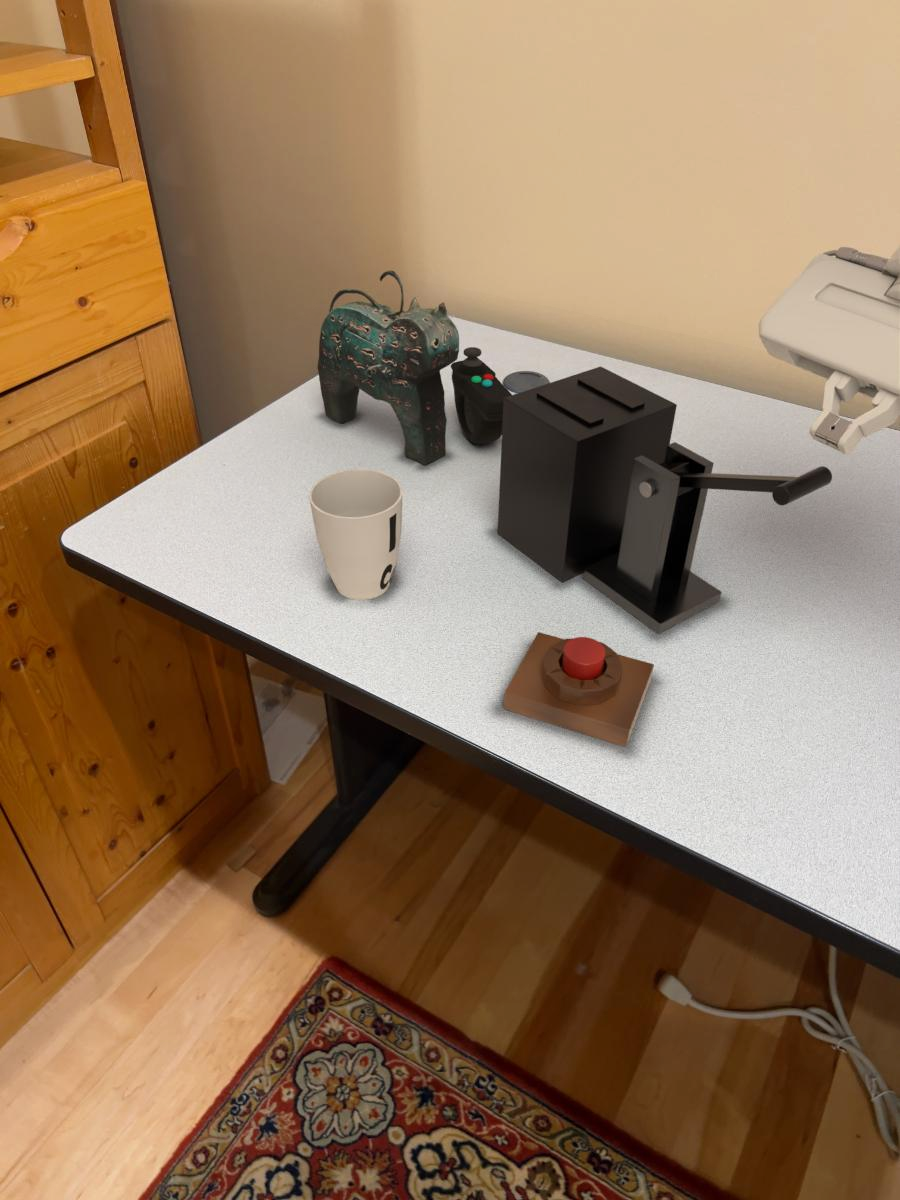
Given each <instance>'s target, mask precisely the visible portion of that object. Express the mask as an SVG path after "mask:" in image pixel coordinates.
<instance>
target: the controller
mask: <svg viewBox="0 0 900 1200" xmlns="http://www.w3.org/2000/svg"><path fill="white" fill-rule="evenodd" d="M463 355H464V356H465V357H466V358H465V359H463V360H458V361H454V362H453V363H451V364H450V368H451V370H452V372H451V381H452V387H453V397H454V405H455V411H456V415H457V418H458V420H457V421H458V423H459V426H460V428H461V431H462V433H463V435H464V436H465V438H466V439H467V440H468V441H470V442H471V443H473V444H476V445H484V444H488V443H493V442H496V441H498V440H499V439H500V438H502V426H503V405H504V398H505V397H508V396H511V395H513V394H512V393H511V392H510V390H509V389H507V387H506V386H504V384H503V383H502V382H501V380H499V379H498V378H497V376H496V374H497V373H496V372H495V371H494V370H493V369H491V367H490V366H489V365H488V364H486V363H485V362H484V361H482V360H481V359H480V358H478V357H480V356H482V349H480V348H479V347H475V346H470V347H466V348H464V349H463Z"/></svg>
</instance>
